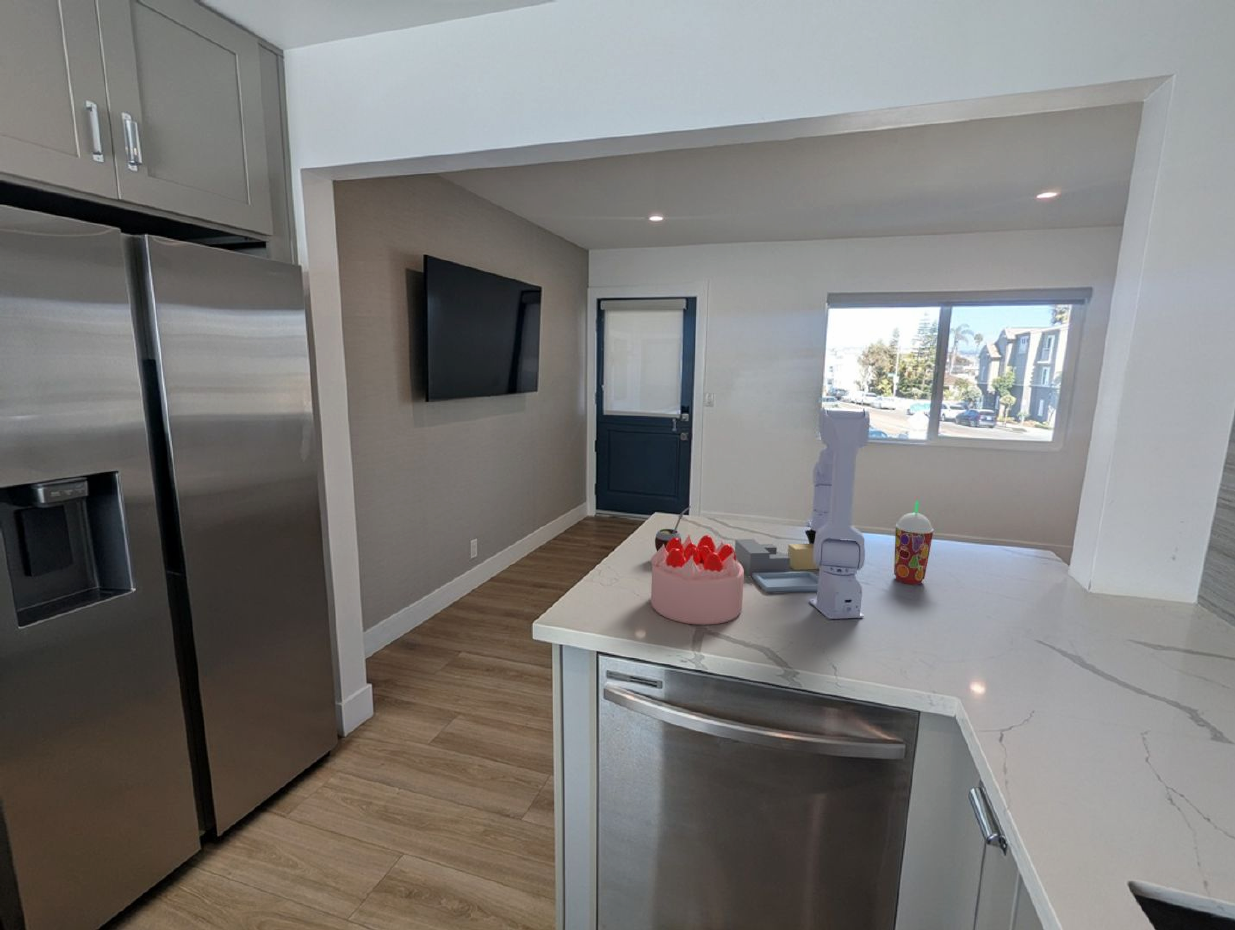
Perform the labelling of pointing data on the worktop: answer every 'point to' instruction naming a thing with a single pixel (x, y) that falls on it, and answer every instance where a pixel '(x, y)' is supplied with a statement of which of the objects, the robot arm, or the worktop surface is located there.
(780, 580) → the tray
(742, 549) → the dock
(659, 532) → the mate gourd
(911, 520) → the smoothie
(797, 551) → the tan block with handle
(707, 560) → the cake
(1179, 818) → the worktop surface
